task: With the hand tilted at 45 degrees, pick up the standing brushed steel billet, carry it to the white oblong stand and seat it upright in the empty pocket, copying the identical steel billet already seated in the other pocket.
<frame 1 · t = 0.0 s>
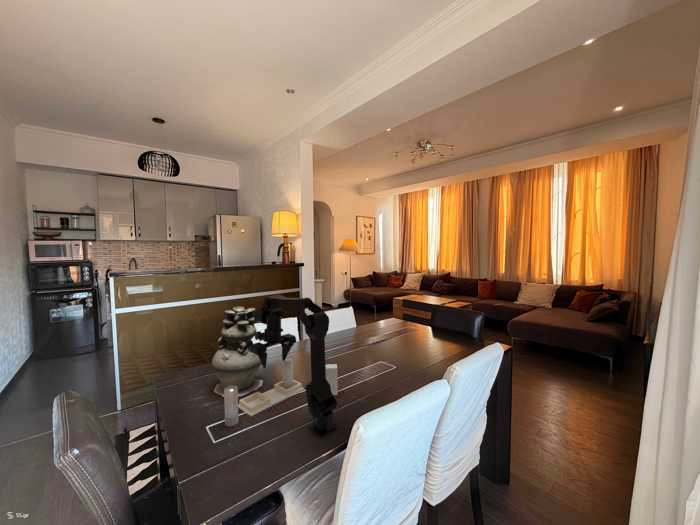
hand: (274, 364, 115), 15 cm above the table, tool pointing down, fingers open, 9 cm apart
steel billet: (231, 422, 100), on the table
decorative urn: (238, 385, 126), on the table
skincare box: (330, 393, 120), on the table
white oblong stand: (254, 405, 110), on the table
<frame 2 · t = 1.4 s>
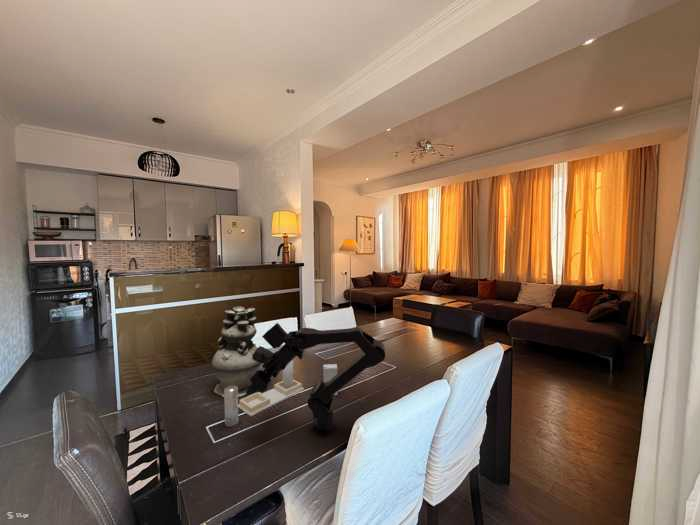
hand: (253, 386, 99), 14 cm above the table, tool tilted 45°, fingers open, 9 cm apart
nothing on the table moved.
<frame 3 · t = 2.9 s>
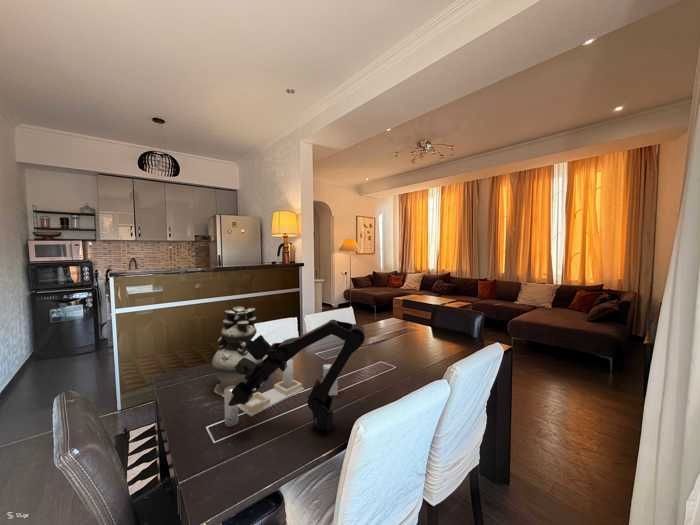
hand: (236, 397, 99), 9 cm above the table, tool tilted 45°, fingers open, 9 cm apart
nothing on the table moved.
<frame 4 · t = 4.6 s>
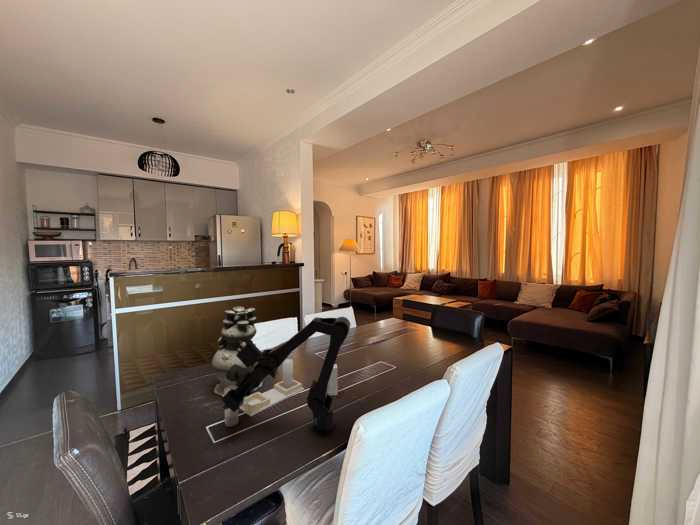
hand: (227, 404, 100), 7 cm above the table, tool tilted 45°, fingers closed on steel billet, 4 cm apart
steel billet: (231, 422, 100), on the table, touching gripper
everything else where it was.
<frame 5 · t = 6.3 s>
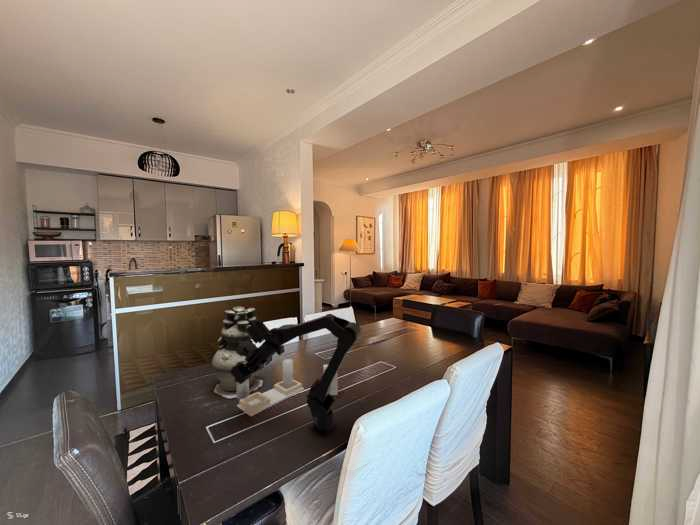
hand: (239, 378, 105), 13 cm above the table, tool tilted 45°, fingers closed on steel billet, 4 cm apart
steel billet: (242, 395, 105), point 7 cm above the table, touching gripper
everything else where it was.
when the fingers open (8 cm above the table, at t = 8.4 s): steel billet stays where it is, resting on white oblong stand.
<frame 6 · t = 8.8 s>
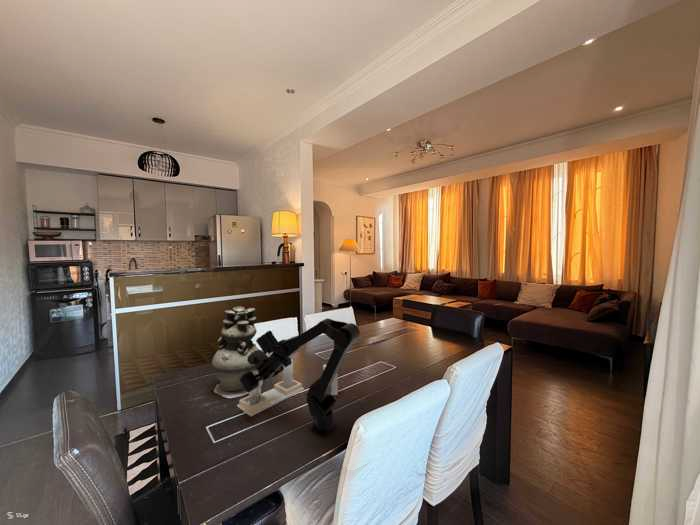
hand: (251, 385, 111), 8 cm above the table, tool tilted 45°, fingers open, 9 cm apart
steel billet: (255, 404, 110), point 1 cm above the table, touching white oblong stand
everything else where it was.
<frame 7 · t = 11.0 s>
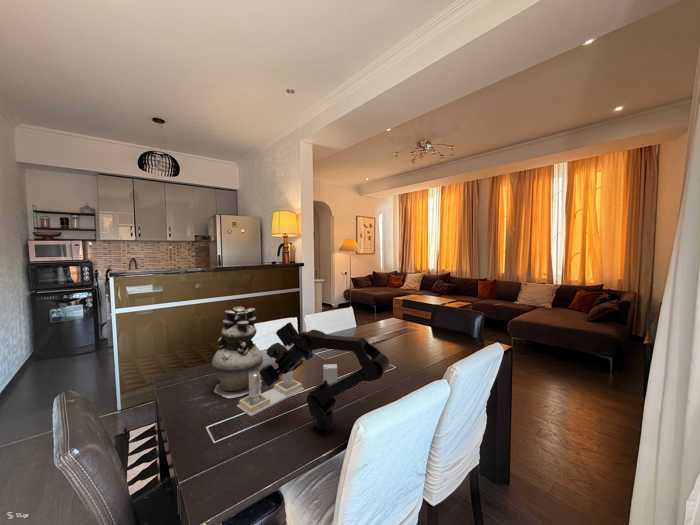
hand: (270, 379, 106), 12 cm above the table, tool tilted 45°, fingers open, 9 cm apart
nothing on the table moved.
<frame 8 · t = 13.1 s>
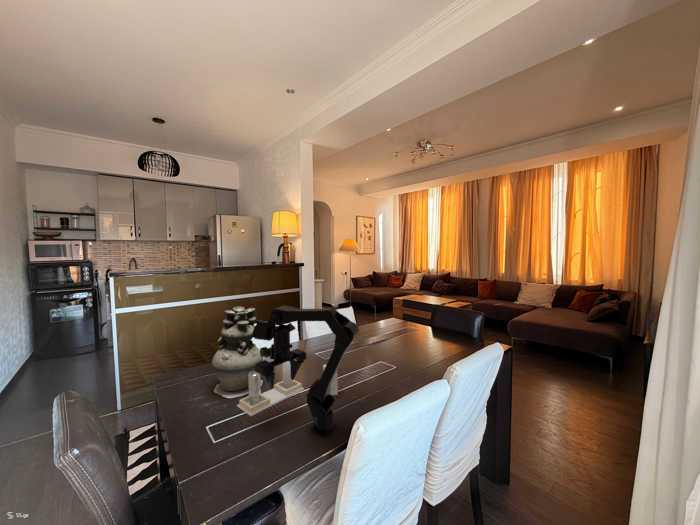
hand: (282, 384, 102), 13 cm above the table, tool pointing down, fingers open, 9 cm apart
nothing on the table moved.
at the end: steel billet 0.1 cm off-centre on the white oblong stand, point 0.6 cm above the white oblong stand's base; steel billet tilted 1°; the gripper is holding nothing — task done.
